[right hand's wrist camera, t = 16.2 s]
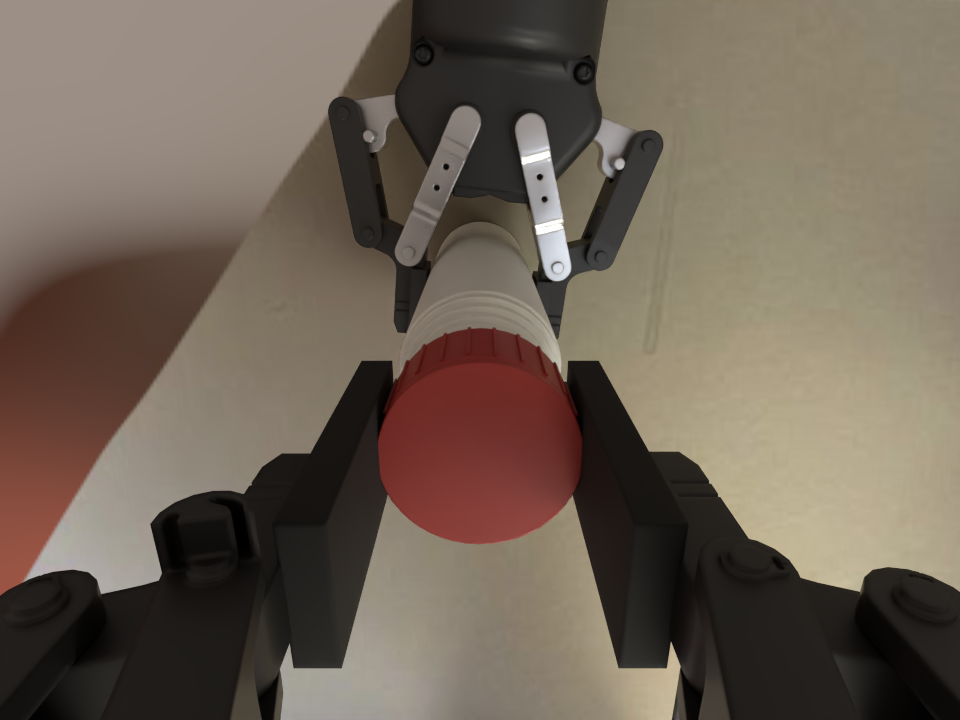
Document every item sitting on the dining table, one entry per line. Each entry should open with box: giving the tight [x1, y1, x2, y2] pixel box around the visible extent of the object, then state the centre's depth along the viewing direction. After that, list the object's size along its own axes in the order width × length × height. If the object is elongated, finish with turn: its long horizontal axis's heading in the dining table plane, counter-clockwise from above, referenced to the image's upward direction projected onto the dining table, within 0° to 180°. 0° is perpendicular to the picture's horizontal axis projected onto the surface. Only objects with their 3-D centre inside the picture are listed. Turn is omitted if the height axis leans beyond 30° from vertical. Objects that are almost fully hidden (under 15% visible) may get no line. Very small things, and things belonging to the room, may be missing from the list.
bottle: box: [399, 222, 561, 375], centre depth 22 cm, size 5×5×21 cm
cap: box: [378, 327, 583, 544], centre depth 13 cm, size 4×4×2 cm
